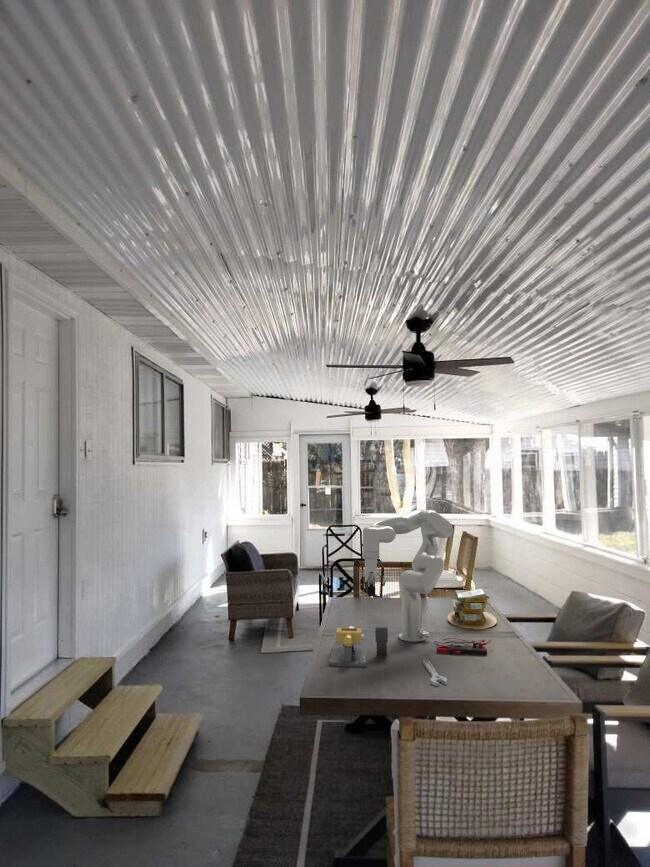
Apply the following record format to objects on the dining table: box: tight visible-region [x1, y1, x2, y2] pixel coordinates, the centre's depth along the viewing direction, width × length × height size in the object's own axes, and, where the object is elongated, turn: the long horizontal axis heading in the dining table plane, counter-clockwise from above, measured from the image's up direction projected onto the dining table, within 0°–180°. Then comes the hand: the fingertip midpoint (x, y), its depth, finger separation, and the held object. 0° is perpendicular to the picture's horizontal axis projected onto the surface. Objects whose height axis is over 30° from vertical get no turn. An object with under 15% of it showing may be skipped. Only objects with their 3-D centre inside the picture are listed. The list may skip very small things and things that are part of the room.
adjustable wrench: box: [422, 659, 448, 687], centre depth 216 cm, size 25×6×2 cm, turn 178°
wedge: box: [375, 626, 389, 657], centre depth 237 cm, size 2×5×12 cm, turn 84°
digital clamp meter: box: [434, 637, 492, 656], centre depth 248 cm, size 23×4×25 cm
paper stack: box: [447, 588, 498, 630], centre depth 289 cm, size 25×25×17 cm
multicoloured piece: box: [328, 624, 368, 668], centre depth 237 cm, size 25×15×11 cm, turn 174°
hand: (371, 593), depth 246 cm, fingers open, 9 cm apart
